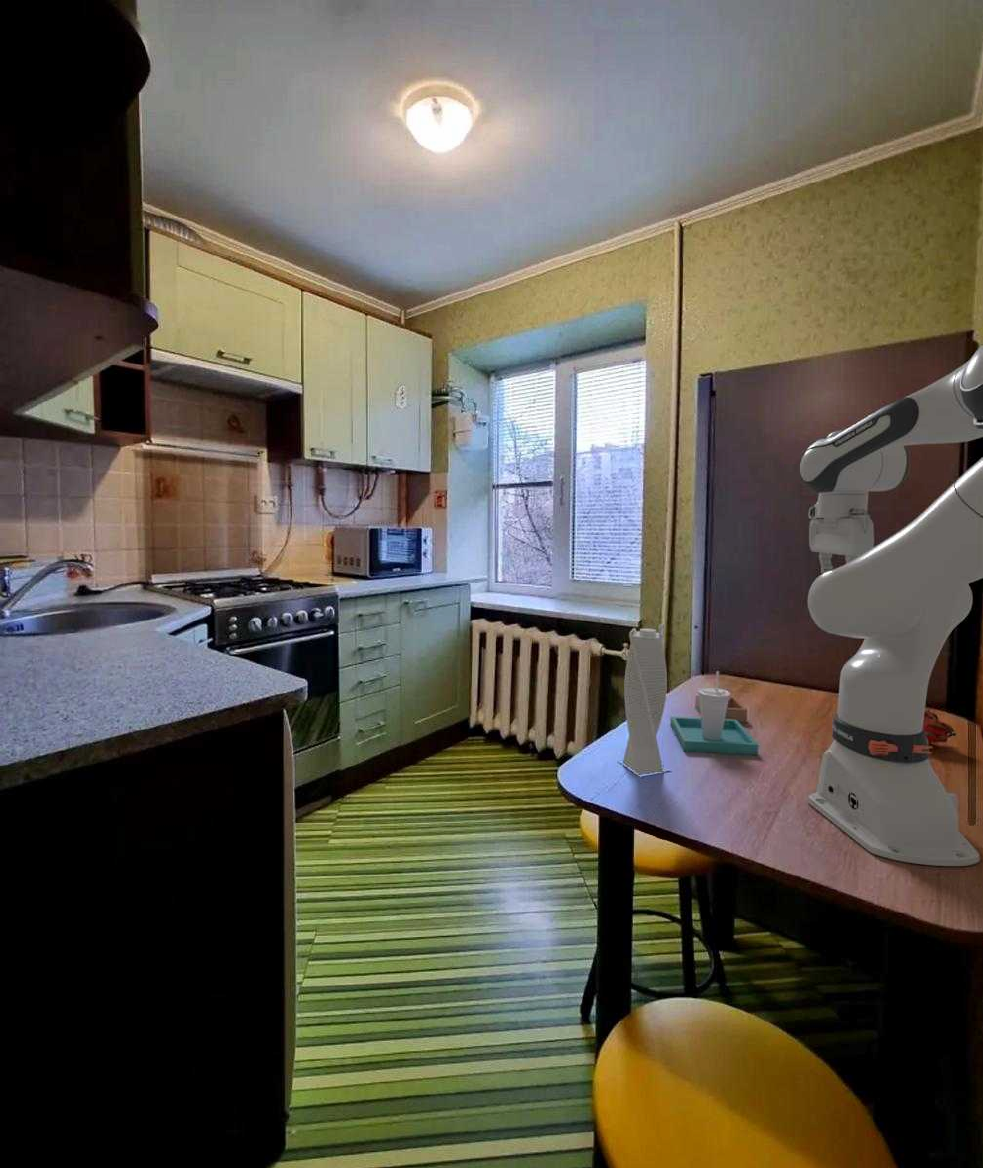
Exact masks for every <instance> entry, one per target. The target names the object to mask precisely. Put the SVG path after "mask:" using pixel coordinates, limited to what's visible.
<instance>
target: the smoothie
mask: <svg viewBox="0 0 983 1168" xmlns="http://www.w3.org/2000/svg"><path fill="white" fill-rule="evenodd" d="M719 681H720V671H719V670H718V671H716V673H715V686H714V687H701V688H698V690H697V694H696V696H699V702H700V714H701V715H700V714H699V715H700V718H701V726H702V736H703V737H704V738H706V739H710V740H720V739H721V736H722V731H723V726H724V721H725V715H726V710H727V705H728V700H729V699H730V697H731V692H729V691H728V690H726V689H724V688H719V683H720V682H719Z"/></svg>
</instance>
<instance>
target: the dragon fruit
mask: <svg viewBox="0 0 983 1168" xmlns="http://www.w3.org/2000/svg"><path fill="white" fill-rule="evenodd" d="M923 728H924V730H925V732H926V737H927V739H928V744H929V745H928V746H932V748H931V749H939V747H938V746H937V745H932V744H931V743H933V744H936V743H947V742H948V738H952V736H953V737H956V735H957V733H956V732H955V729H954V728H953V727H952V726H951V725H950V724H948V723H946V722H945V721H940V720H939V717H938V715H937V714H936V713H935V712H931V710H930V709H928V708H927V709H925V711H924V720H923Z"/></svg>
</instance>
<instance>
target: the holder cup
mask: <svg viewBox="0 0 983 1168" xmlns="http://www.w3.org/2000/svg"><path fill="white" fill-rule="evenodd" d="M694 705H695V707H694V708H695V709H696V711H697V712H698V714H699V715H700V716H701V714H700V702H699V696H698V695H695V703H694ZM725 719H732V720H737V721H738V722H739V723H747V722H748V708H746V707H745V706H744V705H743V704H742V702H740V701H739V700H738V698H737V697H735V696H734V697H733V696H730V699H729V700H728V705H727V710H726V715H725Z"/></svg>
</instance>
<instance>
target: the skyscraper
mask: <svg viewBox="0 0 983 1168" xmlns="http://www.w3.org/2000/svg"><path fill="white" fill-rule="evenodd" d="M665 634H666V629H665V624H664V623H661V622H660V624H659V626H658V632H657V630H656V629H654V628H649V627H648V628H640V629H639V630H638V631H637V629H636V628H635V627H633V628H632V629H631V630H630V631H629V633H628V638H629V641H630V645H629V647H628V648H629V649H628V652H627V653H628V654H627V659H626V665H625V672H624V682H623V683H624V684H623V686H624V688H623V690H624V692H623V696H624V708H625V709H624V710H625V717H626V719H625V720H626V725H627V729H628V730H627V731H628V735H629V736H628V740H627V743H626V747H625V752H624V757H623V759H622V760H623V764H625V765H626V766H627V767H630V768H631V769H632V770H634V771H635V772H636V773H638V775H642V774H650V773H655V772H663V768H662V765H663V764H662V759H661V754H660V748H659V743H658V739H657V735H658V731H659V729H660V726H661V722H662V719H663V714H664V711H665V706H666V699H667V690H668V676H667V675H668V674H667V663H666V657H665V651H664V650H665V649H664V644H663V639H664V637H665ZM664 766H665V765H663V767H664Z"/></svg>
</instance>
